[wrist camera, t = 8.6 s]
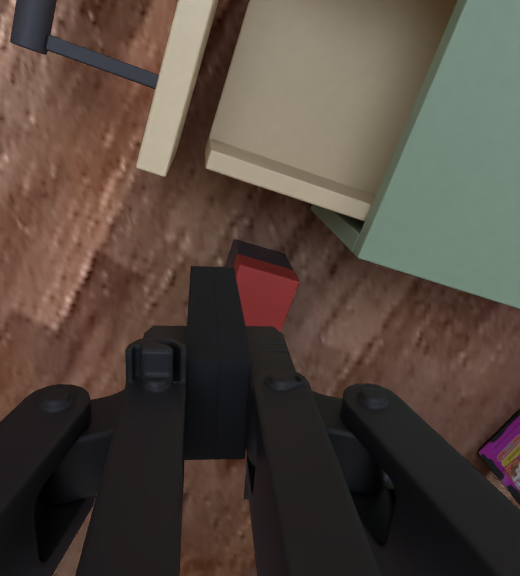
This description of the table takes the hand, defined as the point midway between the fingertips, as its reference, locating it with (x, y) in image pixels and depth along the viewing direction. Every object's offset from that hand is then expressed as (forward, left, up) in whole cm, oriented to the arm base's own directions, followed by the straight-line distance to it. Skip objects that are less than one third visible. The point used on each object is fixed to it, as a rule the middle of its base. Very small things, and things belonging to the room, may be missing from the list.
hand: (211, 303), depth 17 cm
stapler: (+2, -6, -13) cm, 14 cm away
